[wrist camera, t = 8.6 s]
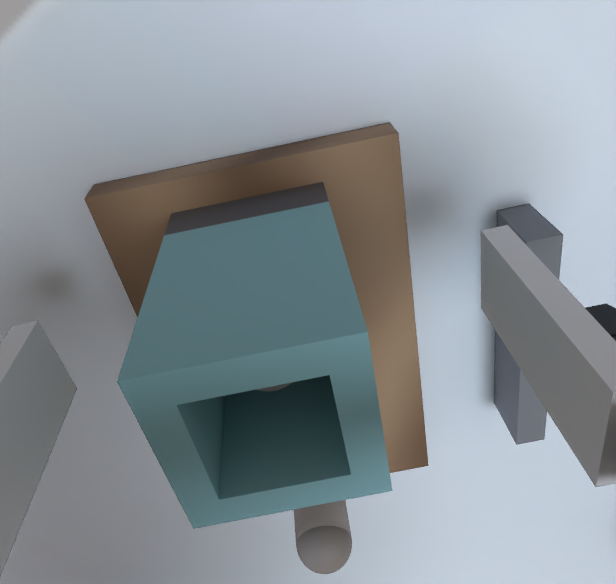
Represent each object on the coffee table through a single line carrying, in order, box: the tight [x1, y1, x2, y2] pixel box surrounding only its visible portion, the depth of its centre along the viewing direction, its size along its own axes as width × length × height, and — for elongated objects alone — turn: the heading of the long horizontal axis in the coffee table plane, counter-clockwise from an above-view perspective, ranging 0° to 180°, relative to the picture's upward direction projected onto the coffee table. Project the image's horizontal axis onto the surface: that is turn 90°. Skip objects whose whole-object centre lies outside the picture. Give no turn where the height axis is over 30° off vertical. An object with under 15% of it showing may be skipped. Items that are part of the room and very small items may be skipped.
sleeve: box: [117, 182, 392, 529], centre depth 15 cm, size 5×5×8 cm
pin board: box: [85, 123, 428, 574], centre depth 19 cm, size 10×16×7 cm, turn 11°
